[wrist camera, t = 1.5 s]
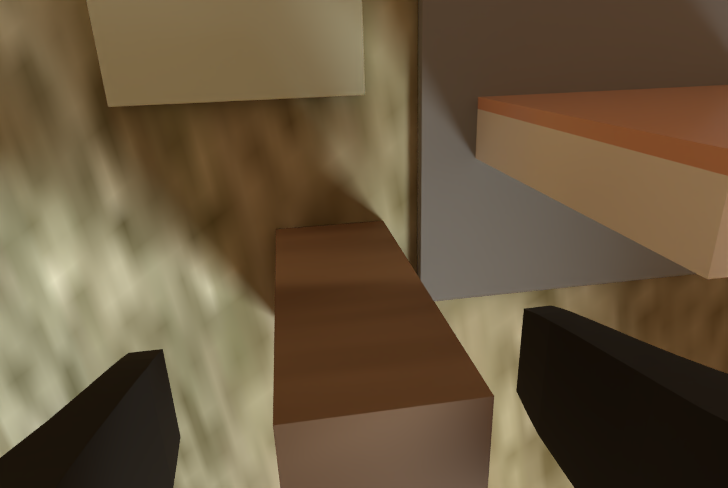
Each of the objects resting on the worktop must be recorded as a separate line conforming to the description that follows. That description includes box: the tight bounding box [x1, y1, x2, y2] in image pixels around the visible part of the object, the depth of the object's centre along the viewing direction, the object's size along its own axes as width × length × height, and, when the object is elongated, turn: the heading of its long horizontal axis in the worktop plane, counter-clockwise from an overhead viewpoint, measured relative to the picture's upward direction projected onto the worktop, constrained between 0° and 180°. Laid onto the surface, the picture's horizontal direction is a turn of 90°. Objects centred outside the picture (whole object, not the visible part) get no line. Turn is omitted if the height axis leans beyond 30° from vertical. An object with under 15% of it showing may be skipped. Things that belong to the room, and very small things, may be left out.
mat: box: [417, 0, 728, 301], centre depth 13 cm, size 16×11×1 cm
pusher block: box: [273, 221, 494, 488], centre depth 11 cm, size 3×3×8 cm
